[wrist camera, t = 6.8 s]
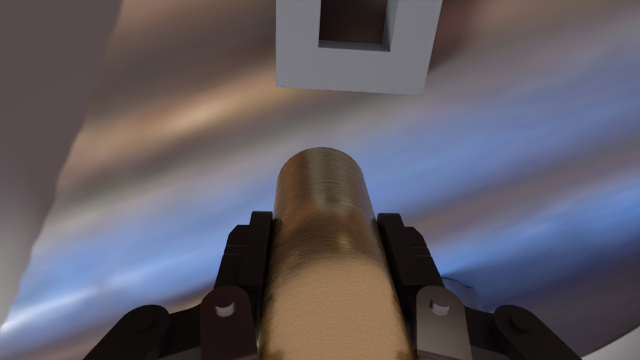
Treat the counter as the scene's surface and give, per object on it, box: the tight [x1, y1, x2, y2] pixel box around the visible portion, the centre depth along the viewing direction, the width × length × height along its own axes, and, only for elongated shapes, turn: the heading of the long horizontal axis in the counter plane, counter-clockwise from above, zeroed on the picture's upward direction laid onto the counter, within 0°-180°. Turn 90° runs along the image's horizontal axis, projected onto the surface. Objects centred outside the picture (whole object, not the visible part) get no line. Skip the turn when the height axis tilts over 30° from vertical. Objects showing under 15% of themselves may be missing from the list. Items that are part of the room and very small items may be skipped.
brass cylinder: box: [257, 147, 415, 360], centre depth 12 cm, size 4×4×10 cm
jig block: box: [276, 0, 443, 95], centre depth 27 cm, size 12×12×4 cm
